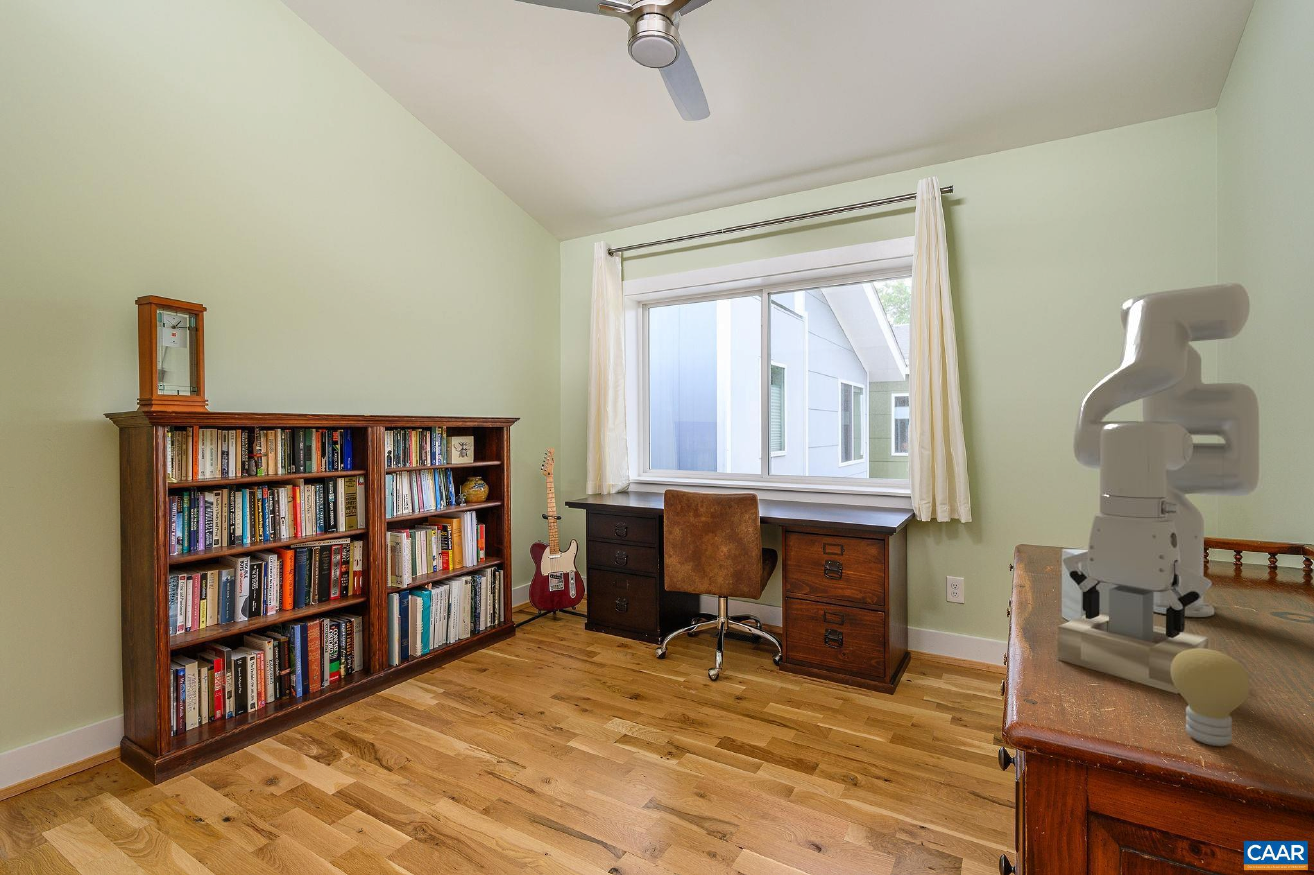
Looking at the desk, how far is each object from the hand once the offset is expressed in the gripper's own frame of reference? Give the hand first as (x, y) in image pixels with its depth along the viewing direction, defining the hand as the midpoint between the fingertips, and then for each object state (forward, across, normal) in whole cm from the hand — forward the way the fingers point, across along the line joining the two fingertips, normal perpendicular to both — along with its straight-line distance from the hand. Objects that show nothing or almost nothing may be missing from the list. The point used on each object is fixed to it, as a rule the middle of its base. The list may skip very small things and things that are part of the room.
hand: (1130, 626), depth 87 cm
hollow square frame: (+6, 0, 0) cm, 6 cm away
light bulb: (+6, -13, +18) cm, 23 cm away
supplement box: (+6, +11, -17) cm, 21 cm away
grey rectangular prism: (+5, 0, 0) cm, 5 cm away
